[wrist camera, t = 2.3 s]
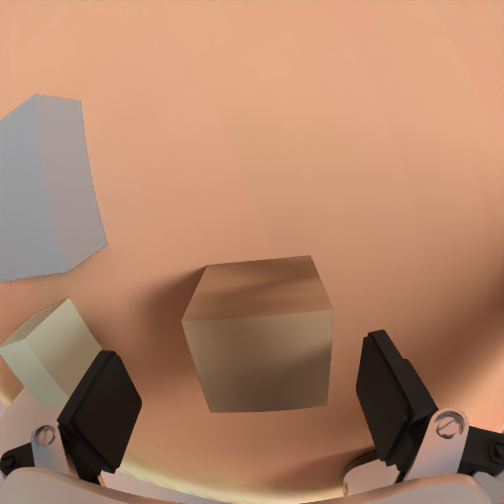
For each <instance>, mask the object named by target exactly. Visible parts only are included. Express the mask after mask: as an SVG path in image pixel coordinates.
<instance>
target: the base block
mask: <svg viewBox="0 0 504 504" xmlns="http://www.w3.org/2000/svg"><path fill="white" fill-rule="evenodd" d="M107 244H108V243H107V239H106V236H105V232H104V228H103V225H102V221H101V217H100V213H99V209H98V204H97V200H96V195H95V191H94V186H93V181H92V176H91V170H90V165H89V159H88V153H87V146H86V139H85V131H84V123H83V114H82V102H81V101H76V100H71V99H65V98H59V97H52V96H45V95H38V94H35V95H33V96H32V97H31V98H29V99H28V100H26V101H25V102H24V103H22V104H21V105H20V106H18V107H17V108H16V109H14V110H13V111H12V112H10V113H9V114H8V115H7V116H5V117H4V118H3V119H2V120H1V121H0V282H5V281H11V280H18V279H24V278H31V277H37V276H44V275H50V274H57V273H63V272H69V271H70V270H71V269H73V268H74V267H76V266H77V265H78V264H80V263H81V262H83V261H84V260H85V259H87V258H88V257H90V256H91V255H93V254H94V253H95V252H97V251H98V250H100V249H101V248H103V247H104V246H106V245H107Z"/></svg>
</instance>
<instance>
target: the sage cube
mask: <svg viewBox="0 0 504 504" xmlns="http://www.w3.org/2000/svg"><path fill="white" fill-rule="evenodd" d="M101 350H103V349H102V348H101V346H100V345H99V343H98V342H97V341H96V339H95V338H94V336H93V335H92V333H91V332H90V330H89V329H88V327H87V326H86V324H85V323H84V321H83V319H82V318H81V316H80V315H79V313H78V311H77V310H76V308H75V306H74V305H73V303H72V301H71V300H70V298H67V299H65V300H62V301H60V302H58V303H56V304H54V305H51V306H49V307H47V308H45V309H43V310H40V311H38V312H36V313H34V314H33V315H32V316H31V317H30V318H29V319H27V320H26V321H25V322H24V323H23V324H22V325H21V326H20V327H19V328H17V329H16V330H15V331H14V332H13V333H12V334H11V335H10V336H9V337H8V338H7V339H6V340H5V341H4V342H3V343H2V344H1V345H0V355H1V356H2V358H3V359H4V361H5V362H6V363H7V365H8V366H9V368H10V369H11V370H12V372H13V373H14V374H15V376H16V377H17V378H18V380H19V381H20V382H21V384H22V385H23V386H24V387H25V389H26V390H27V391H28V392H29V393H30V395H31V396H32V397H33V398H34V399H35V400H36V402H37V403H38V404H39V405H40V406H51V407H64V406H65V405H66V403H67V401H68V400H69V398H70V396H71V395H72V393H73V392H74V390H75V388H76V387H77V385H78V384H79V382H80V380H81V379H82V377H83V376H84V374H85V373H86V371H87V370H88V368H89V367H90V365H91V363H92V362H93V360H94V359H95V357H96V356H97V354H98V353H99V352H100V351H101Z"/></svg>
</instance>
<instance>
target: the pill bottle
mask: <svg viewBox="0 0 504 504" xmlns="http://www.w3.org/2000/svg"><path fill="white" fill-rule="evenodd" d="M63 408H64V407H51V406H40V405H39V404H38V403H37V402H36V400H35V399H34V398H33V397H32V396H31V395H30V393H29V392H28V391H27V390H26V389H25V387H24V388H23V389H22V391H21V392H20V393H19V394H18V396H17V397H16V398H15V399H14V401H13V402H12V403H11V405H10V406H9V407H8V409H7V410H6V411H5V413H4V414H3V415H2V417H1V418H0V459H1V457H2V455H3V454H4V453H5V452H7V451H8V450H11V449H14V448H16V447H19V446H22V445H24V444H27V443H29V442H31V435H32V432H33V430H34V429H35V428H36V427H37V426H38V425H40V424H42V423H45V422H51V423H53V424H55V425H56V426H58V425H59V423H58V422H57V421H56V420H57V418H58V417H59V415H60V413H61V411H62V410H63Z"/></svg>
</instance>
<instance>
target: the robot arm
mask: <svg viewBox="0 0 504 504" xmlns="http://www.w3.org/2000/svg"><path fill="white" fill-rule="evenodd" d="M356 392H357V396H358V399H359V401H360V404H361V407H362V410H363V412H364V415H365V418H366V421H367V424H368V427H369V430H370V433H371V435H372V438H373V441H374V444H375V447H376V450H377V453H378V457H379V459H380V461H381V462H383V461H385V464H386V467H389V466H392V465H396V467H397V470H398V471H399V473H398V475H397V477H396V479H395V481H394V483H393V484H392V485H389V486H385V487H381V488H377V489H374V490H370V491H366V492H362V493H358V494H354V495H349V496H344V497H339V498H334V499H328V500H323V501H316V502H309V503H302V504H504V434H501V433H497V432H492V431H488V430H484V429H480V428H476V427H472V426H469V421H468V418H467V416H466V415H465V414H464V413H463V412H462V411H460V410H458V409H456V408H443V409H441V410H439V409H438V408H437V406H436V404H435V403H434V401H433V399H432V397H431V396H430V394H429V392H428V391H427V389H426V387H425V386H424V384H423V382H422V381H421V379H420V377H419V376H418V374H417V372H416V371H415V369H414V368H413V366H412V364H411V363H410V362H409V360H407V359H403V358H402V356H401V355H400V353H399V352H398V350H397V348H396V347H395V345H394V344H393V342H392V341H391V339H390V338H389V336H388V334H387V333H386V331H385V330H378V331H373V332H369V333H368V336H367V337H364V339H363V346H362V353H361V360H360V366H359V372H358V378H357V384H356ZM141 406H142V400H141V398H140V396H139V394H138V392H137V390H136V388H135V386H134V385H133V383H132V381H131V379H130V377H129V375H128V373H127V371H126V369H125V367H124V364H123V362H122V360H121V358H120V356H119V355H117V354H116V352H114V351H106V350H101V351H100V352H99V353H98V354H97V356H96V357H95V359H94V360H93V362H92V363H91V365H90V367H89V368H88V370H87V371H86V373H85V374H84V376H83V377H82V379H81V380H80V382H79V384H78V385H77V387H76V388H75V390H74V392H73V393H72V395H71V396H70V398H69V400H68V401H67V403H66V405H65V406H64V408H63V410H62V411H61V413H60V415H59V417H58V418H57V420H56V421H57V422H58V423H59V425H58V426H56V425H55V424H53V423H51V422H45V423H42V424H40V425H38V426H37V427H36V428H35V429H34V430H33V432H32V435H31V442H29V443H27V444H24V445H22V446H19V447H16V448H14V449H11V450H8V451H7V452H5V453H4V454H3V455H2V457H1V459H0V504H184V503H176V502H169V501H163V500H157V499H152V498H147V497H142V496H137V495H132V494H129V493H125V492H121V491H117V490H113V489H110V488H107V487H106V485H105V483H104V481H103V479H102V476H101V474H100V473H101V471H102V470H103V471H105V472H109V473H112V474H114V473H115V471H116V468H119V467H120V464H121V462H122V459H123V456H124V453H125V450H126V447H127V444H128V442H129V439H130V436H131V433H132V431H133V428H134V425H135V423H136V420H137V417H138V415H139V412H140V409H141Z"/></svg>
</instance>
